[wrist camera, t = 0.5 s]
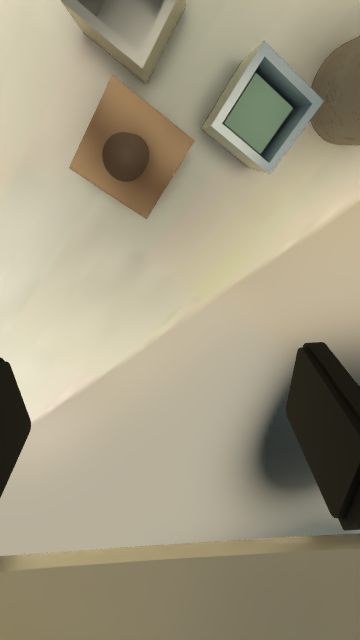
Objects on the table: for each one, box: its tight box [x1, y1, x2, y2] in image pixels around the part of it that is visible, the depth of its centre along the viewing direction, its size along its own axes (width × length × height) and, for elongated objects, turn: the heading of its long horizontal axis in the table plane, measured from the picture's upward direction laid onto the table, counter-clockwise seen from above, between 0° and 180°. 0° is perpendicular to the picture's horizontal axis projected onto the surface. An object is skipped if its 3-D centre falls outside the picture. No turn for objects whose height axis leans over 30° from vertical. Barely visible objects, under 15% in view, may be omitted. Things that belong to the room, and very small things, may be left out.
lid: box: [69, 75, 194, 219], centre depth 23 cm, size 7×7×6 cm
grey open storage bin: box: [61, 0, 186, 84], centre depth 23 cm, size 6×6×7 cm
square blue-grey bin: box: [201, 41, 324, 175], centre depth 27 cm, size 6×6×7 cm
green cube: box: [222, 73, 293, 154], centre depth 27 cm, size 4×4×4 cm
